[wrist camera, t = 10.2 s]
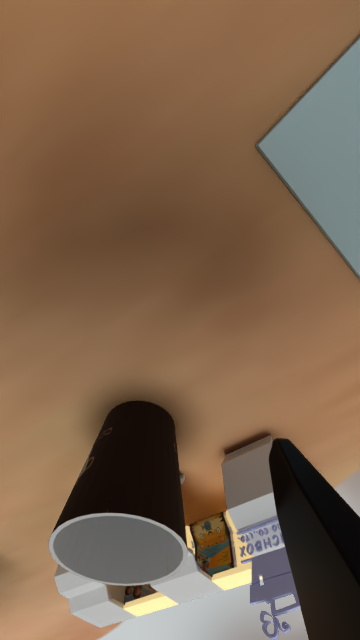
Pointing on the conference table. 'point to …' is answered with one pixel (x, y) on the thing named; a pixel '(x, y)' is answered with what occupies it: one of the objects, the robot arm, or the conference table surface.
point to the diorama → (208, 554)
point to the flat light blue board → (324, 153)
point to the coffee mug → (126, 503)
